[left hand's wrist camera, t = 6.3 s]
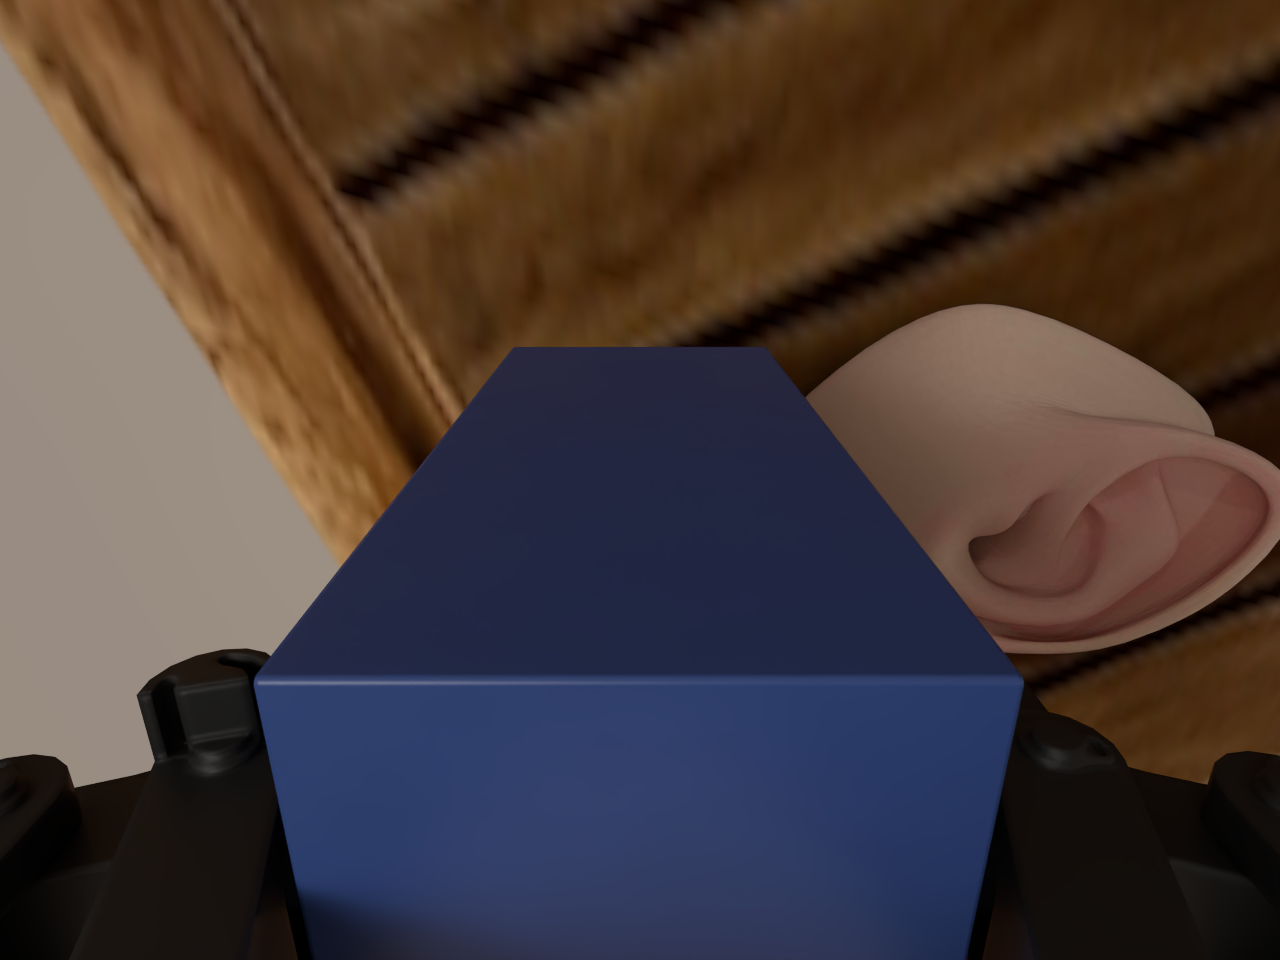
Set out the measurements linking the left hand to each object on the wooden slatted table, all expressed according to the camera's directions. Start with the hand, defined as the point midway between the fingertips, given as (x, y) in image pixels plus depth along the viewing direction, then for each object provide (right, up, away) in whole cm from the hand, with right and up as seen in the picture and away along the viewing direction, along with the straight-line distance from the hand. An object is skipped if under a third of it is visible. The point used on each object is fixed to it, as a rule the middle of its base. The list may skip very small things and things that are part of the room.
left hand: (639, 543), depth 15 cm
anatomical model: (+11, +1, +11) cm, 16 cm away
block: (0, +1, +3) cm, 3 cm away
